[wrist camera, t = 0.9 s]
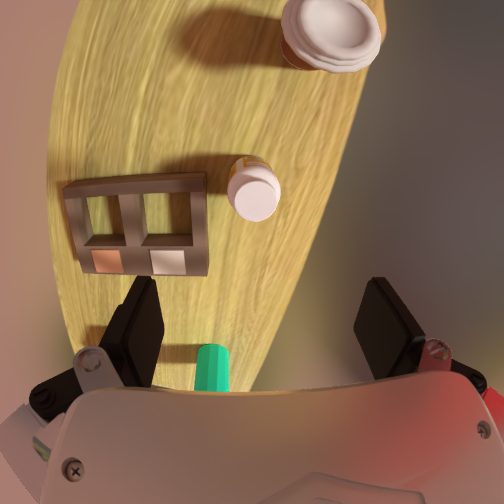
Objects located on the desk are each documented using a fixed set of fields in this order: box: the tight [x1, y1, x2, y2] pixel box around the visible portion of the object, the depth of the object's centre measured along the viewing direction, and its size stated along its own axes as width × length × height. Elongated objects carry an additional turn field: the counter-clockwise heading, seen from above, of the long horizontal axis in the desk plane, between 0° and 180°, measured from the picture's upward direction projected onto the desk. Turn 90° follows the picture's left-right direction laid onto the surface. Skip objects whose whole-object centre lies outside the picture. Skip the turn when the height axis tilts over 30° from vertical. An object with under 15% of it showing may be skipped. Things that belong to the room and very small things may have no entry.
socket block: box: [63, 172, 209, 276], centre depth 34 cm, size 13×19×4 cm
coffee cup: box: [280, 0, 381, 73], centre depth 20 cm, size 9×9×12 cm
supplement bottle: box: [227, 156, 281, 222], centre depth 29 cm, size 5×5×10 cm
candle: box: [194, 344, 229, 392], centre depth 44 cm, size 6×6×12 cm
